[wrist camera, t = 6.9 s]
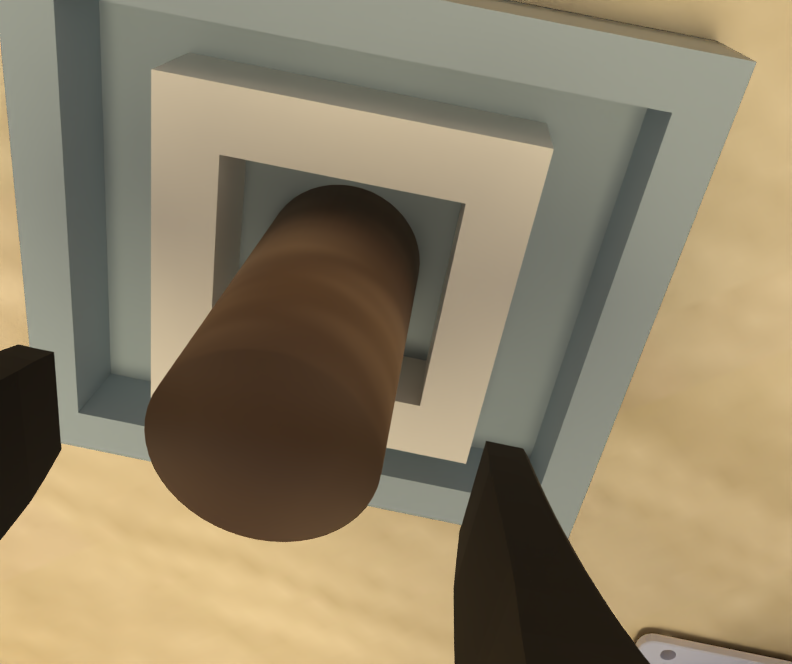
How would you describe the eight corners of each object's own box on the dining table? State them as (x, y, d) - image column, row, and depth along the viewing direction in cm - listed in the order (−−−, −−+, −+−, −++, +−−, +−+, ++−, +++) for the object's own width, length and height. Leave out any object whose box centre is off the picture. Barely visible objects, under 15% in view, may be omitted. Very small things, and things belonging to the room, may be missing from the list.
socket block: (546, 123, 17) (554, 148, 15) (467, 414, 21) (465, 463, 19) (188, 52, 17) (151, 68, 15) (180, 356, 21) (150, 399, 19)
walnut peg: (439, 212, 18) (411, 391, 11) (395, 344, 20) (348, 566, 13) (283, 164, 18) (158, 316, 11) (255, 302, 20) (133, 504, 13)
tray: (716, 40, 16) (756, 62, 14) (556, 479, 23) (564, 546, 20) (61, -88, 17) (-13, -90, 14) (85, 384, 23) (38, 438, 21)
